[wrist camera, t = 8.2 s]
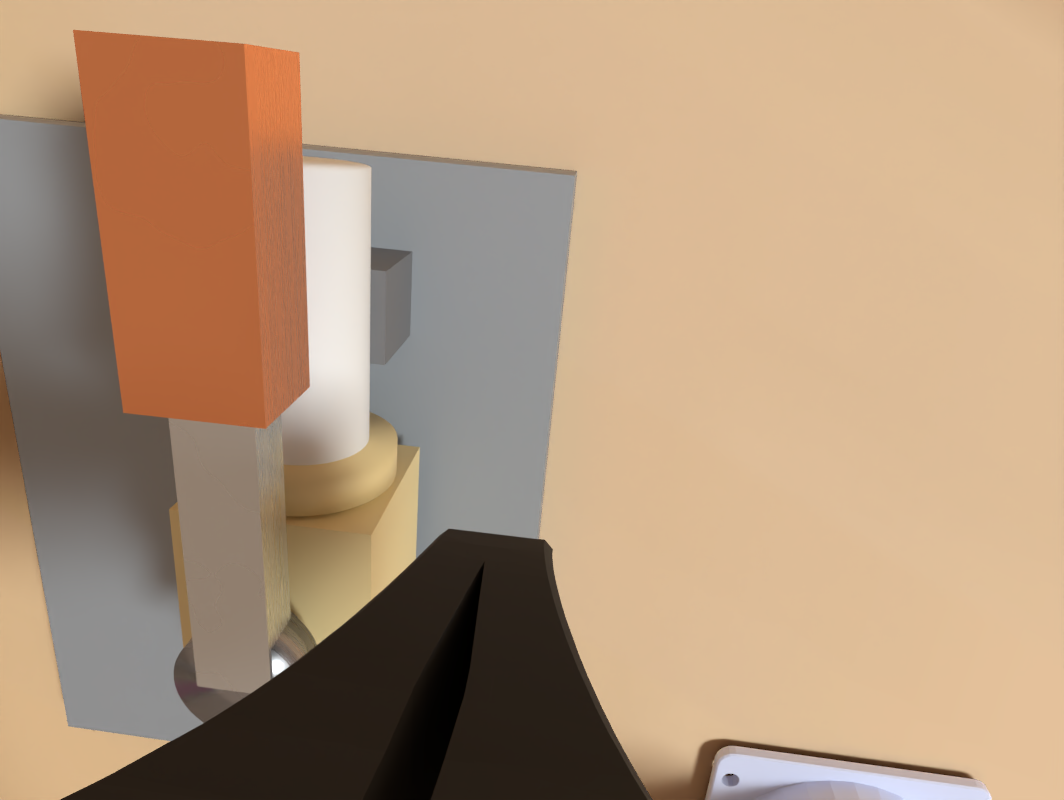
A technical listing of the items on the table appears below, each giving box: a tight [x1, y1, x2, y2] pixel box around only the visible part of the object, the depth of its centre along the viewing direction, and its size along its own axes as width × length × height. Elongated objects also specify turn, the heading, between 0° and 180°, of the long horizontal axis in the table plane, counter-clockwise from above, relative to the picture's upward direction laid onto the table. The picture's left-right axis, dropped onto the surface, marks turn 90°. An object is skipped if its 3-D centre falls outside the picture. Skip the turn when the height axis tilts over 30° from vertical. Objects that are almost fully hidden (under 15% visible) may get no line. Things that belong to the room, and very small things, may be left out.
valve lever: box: [73, 30, 317, 723], centre depth 13 cm, size 12×2×2 cm, turn 175°
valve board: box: [0, 114, 577, 741], centre depth 18 cm, size 18×14×6 cm
